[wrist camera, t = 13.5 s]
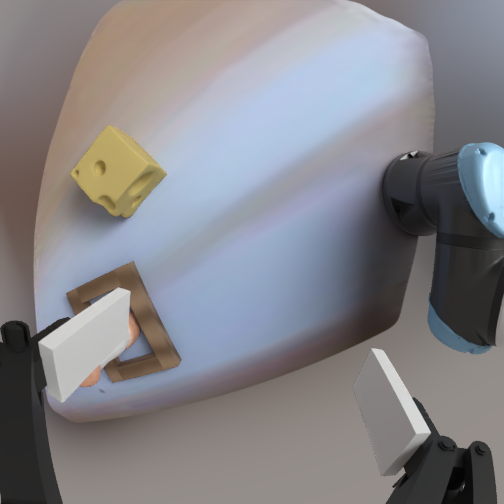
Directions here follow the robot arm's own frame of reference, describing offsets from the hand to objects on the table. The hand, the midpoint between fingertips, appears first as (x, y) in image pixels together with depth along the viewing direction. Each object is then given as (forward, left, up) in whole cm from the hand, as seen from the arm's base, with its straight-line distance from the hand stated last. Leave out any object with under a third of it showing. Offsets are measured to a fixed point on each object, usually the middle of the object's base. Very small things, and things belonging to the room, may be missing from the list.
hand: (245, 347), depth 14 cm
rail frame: (+19, +20, -33) cm, 43 cm away
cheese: (+24, -7, -33) cm, 42 cm away
